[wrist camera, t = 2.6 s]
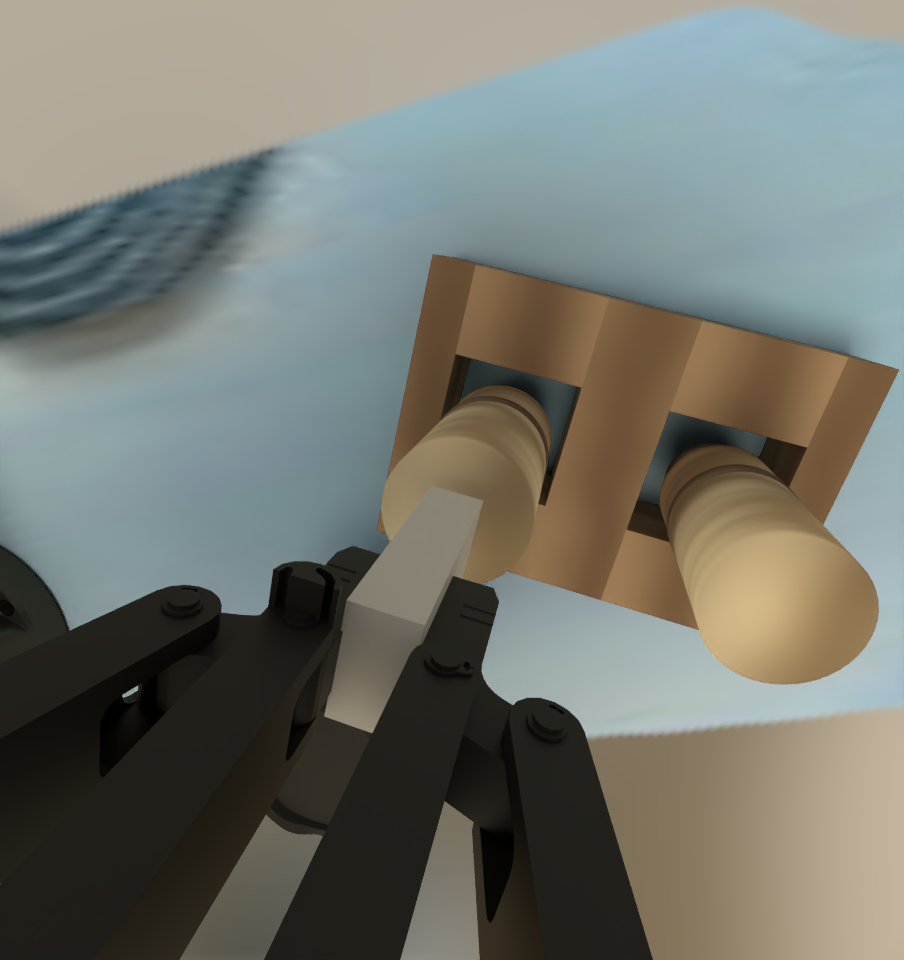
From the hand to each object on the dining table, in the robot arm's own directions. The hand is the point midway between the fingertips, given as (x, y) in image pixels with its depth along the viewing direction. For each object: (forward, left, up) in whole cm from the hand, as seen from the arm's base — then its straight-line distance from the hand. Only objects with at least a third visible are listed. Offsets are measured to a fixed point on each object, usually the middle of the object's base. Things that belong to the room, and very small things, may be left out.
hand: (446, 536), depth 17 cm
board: (+5, 0, -18) cm, 18 cm away
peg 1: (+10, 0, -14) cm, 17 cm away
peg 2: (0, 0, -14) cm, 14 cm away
